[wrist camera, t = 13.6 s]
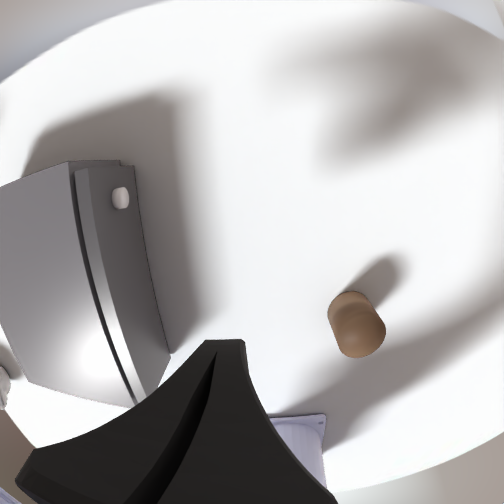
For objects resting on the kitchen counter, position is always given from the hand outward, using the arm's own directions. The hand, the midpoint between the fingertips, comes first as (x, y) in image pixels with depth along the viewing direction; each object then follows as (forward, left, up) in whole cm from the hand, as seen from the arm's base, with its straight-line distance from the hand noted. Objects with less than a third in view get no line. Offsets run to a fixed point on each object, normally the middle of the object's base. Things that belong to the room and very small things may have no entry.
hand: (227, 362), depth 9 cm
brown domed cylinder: (-4, -7, -10) cm, 13 cm away
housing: (0, +14, -10) cm, 17 cm away
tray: (0, +12, -10) cm, 16 cm away
